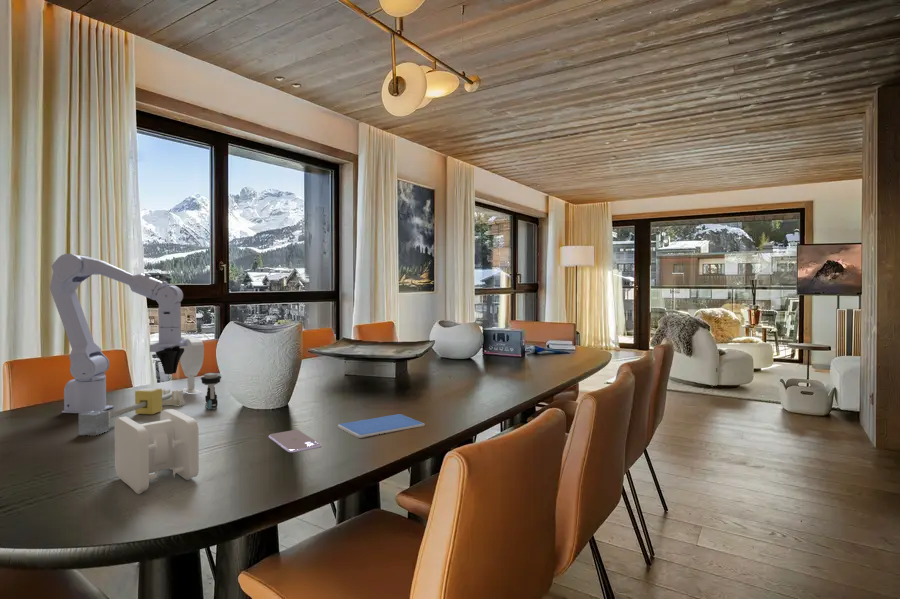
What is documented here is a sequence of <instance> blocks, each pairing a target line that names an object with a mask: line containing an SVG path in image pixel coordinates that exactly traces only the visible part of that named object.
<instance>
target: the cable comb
mask: <svg viewBox="0 0 900 599" xmlns="http://www.w3.org/2000/svg"><path fill="white" fill-rule="evenodd" d="M171 392H172V397H171V398H168V399H165V400H163V401H162V405H179V406H178V407H181V406H180V405H182V406H184V405H185V398H184V393H183V390H178V389H174V390H171V389H164V388H162V395H165V394H168V393H171ZM183 404H184V405H183Z"/></svg>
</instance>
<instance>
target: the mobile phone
mask: <svg viewBox="0 0 900 599" xmlns="http://www.w3.org/2000/svg"><path fill="white" fill-rule="evenodd" d="M268 438H269V439H270V440H272V441H273V442H274V443H276V444H277V445H278V446H280V447H281V448H282V449H283V450H285V451H286V452H288V453H298V452H302V451H308V450H311V449H313V450H314V449H318V448H320V447H322V444H321V443H320V442H318V441H317V440H315V439H314V438H312V437H310V436H309V435H307V434H305V433H304V432H302V431H300V430H299V429H292V430H287V431H281V432H276V433H275V432H274V433H271V434H269V435H268Z"/></svg>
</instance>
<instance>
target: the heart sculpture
mask: <svg viewBox="0 0 900 599" xmlns="http://www.w3.org/2000/svg"><path fill="white" fill-rule="evenodd" d="M182 339H188V340H189V346H182V347H180V348H184V352H183V354H182V356H181V358H180V360H179V363H180V367H181V369H182V371H183V373H184V376H185V377H187V387H183V388H184V389H183V388H181V389H182V390H184V391H186V392H188V393H196V392H201V390H200V389H198V388H196V387H195V381H196V380H195V379H196V378H195V376H198V373H200V371H201V369H202V367H203V363H204V360H205V359H204V358H205V357H204V356H205V345H204V341H203V340H202V339H201V338H199V337H195V336H184V337H183V336H181V340H182ZM195 388H196V389H195ZM197 389H198V390H197ZM199 390H200V391H199Z"/></svg>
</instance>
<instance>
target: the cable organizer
mask: <svg viewBox="0 0 900 599" xmlns="http://www.w3.org/2000/svg"><path fill="white" fill-rule="evenodd" d="M199 438H200V437H199V425H198V420H197V421H196V419H195V418H193V417H191V416H189V415H187V414H184V413H183V412H180V411H178V410H176V409H173V408H169V409H168V408H167V409H162V411H160V414H159V420H158V421H157V420H156V421H151V422H146V423H141V424H140V423H138V422H137V421H134V420H133V419H132V418H130V417H128V416H120V417H117V418H115V420H114V468H115V472H116V475H117V477H118V478H119V479H121V481H122V482H123V483H125V484H126V485H127V486H128V487H130V488H131V490H132V491H133V492H135V493H136V494H137V495H140V494H143V492H145V491H148V489H149V486H150V485H149V484H150V480H155V481H156V482H157V481H158V476H159V475H158V472H161V471H165V470H171V471H172V476H173V478H174V479H175V477H176V474H178V476H180V477H181V478H183V479H185V480H186V481H190V480H192V478H196V477H197V476H198V475H199V471H200V466H199V464H200V457H199V455H200V454H199V453H200V452H199V451H200V450H199V449H200V448H199V441H200V439H199Z"/></svg>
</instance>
